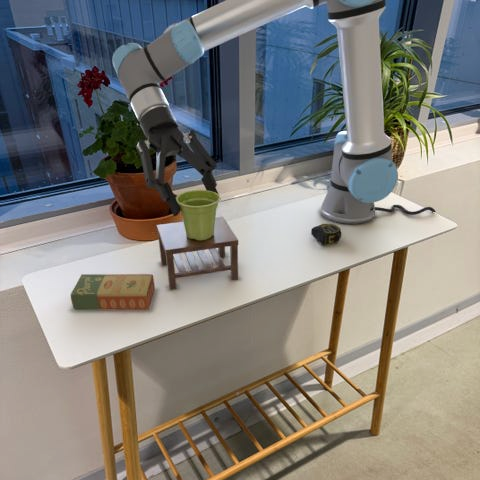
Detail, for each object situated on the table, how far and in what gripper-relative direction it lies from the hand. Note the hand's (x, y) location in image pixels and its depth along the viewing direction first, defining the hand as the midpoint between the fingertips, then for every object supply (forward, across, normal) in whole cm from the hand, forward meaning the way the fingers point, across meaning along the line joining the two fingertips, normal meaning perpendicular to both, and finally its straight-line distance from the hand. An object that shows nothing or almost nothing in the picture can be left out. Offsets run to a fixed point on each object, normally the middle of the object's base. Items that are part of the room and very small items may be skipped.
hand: (197, 207), depth 105 cm
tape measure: (+16, -35, -7) cm, 39 cm away
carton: (+11, +21, -13) cm, 27 cm away
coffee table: (+11, 0, -12) cm, 16 cm away
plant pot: (+5, 0, -4) cm, 7 cm away
